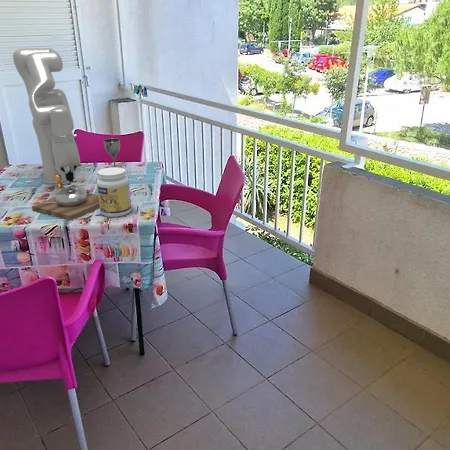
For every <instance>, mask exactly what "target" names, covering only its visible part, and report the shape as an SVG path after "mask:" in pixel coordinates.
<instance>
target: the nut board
mask: <svg viewBox="0 0 450 450" xmlns="http://www.w3.org/2000/svg"><path fill="white" fill-rule="evenodd" d="M86 194H87V201H86V202H85V203H83V204H81V205H77V206H71V207H63V206H59V205H57V203H56V197H55V196H54V197H52V198H49V199H47V200H44V201H41V202H39V203H36V204H33V205H32V206H31V209H32V212H35V211H37V212H36V213H39V212H41V213H40V214H43V213H44V215H47V214H48V215H47V216H51V215H53V216H52V217H54V216H56V217H55V218H58V217H60V218H59V219H62V218H64V219H63V220H66V219H68V220H67V221H70V220H72V221H74V220H73V219H75V220H76V218H77V219H79V218H81V217H82V216H85V215H88V214H90V213H92V212H94V211H96V210H98V209H100V205H99V197H98V194H95V193H90V192H86ZM87 213H88V214H87ZM78 217H79V218H78Z"/></svg>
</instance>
